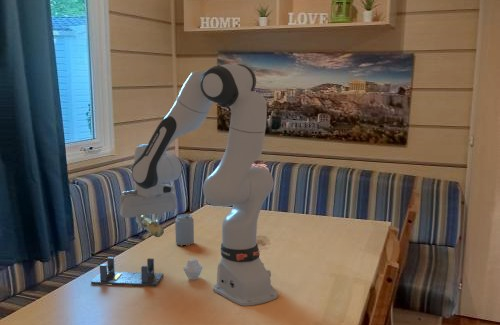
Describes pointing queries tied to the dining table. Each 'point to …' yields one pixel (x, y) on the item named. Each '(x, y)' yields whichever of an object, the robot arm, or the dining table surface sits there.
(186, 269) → the light grey rounded piece
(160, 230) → the tube
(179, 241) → the can
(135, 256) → the dining table surface
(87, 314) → the dining table surface
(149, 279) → the stand
